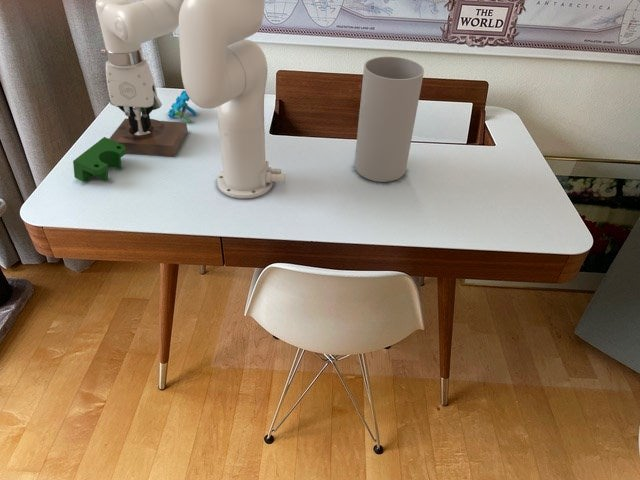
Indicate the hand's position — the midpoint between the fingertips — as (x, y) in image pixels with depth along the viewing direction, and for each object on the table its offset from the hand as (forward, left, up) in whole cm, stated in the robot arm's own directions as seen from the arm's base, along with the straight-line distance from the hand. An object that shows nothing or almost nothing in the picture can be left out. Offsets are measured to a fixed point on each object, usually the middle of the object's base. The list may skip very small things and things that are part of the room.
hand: (141, 128), depth 122 cm
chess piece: (0, 0, -3) cm, 3 cm away
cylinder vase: (-60, +6, -3) cm, 60 cm away
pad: (-2, +1, -3) cm, 4 cm away
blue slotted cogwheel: (-6, -14, -3) cm, 16 cm away
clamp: (+4, +16, -3) cm, 17 cm away
